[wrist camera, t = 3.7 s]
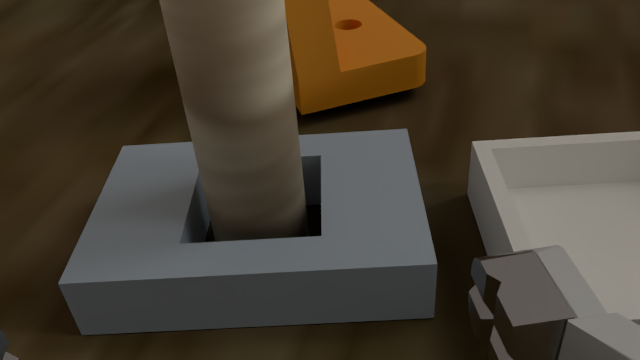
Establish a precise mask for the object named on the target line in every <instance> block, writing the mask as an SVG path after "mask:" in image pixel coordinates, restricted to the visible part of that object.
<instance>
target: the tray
mask: <svg viewBox="0 0 640 360" xmlns="http://www.w3.org/2000/svg"><path fill="white" fill-rule="evenodd" d="M467 194H468V198H469V201H470V204H471V207H472V210H473V213H474V216H475V219H476V222H477V225H478V228H479V231H480V234H481V237H482V241H483V244H484V247H485V250H486V253H487V256H490V255H496V254H502V253H509V252H515V251H522V250H530V249H535V248H542V247H548V246H555V245H559V246H561V247H562V248H564V250H565V251H566V252H567V254H568V255H569V257H570V258H571V260H572V261H573V263H574V264H575V266H576V267H577V269H578V270H579V272H580V273H581V274H582V276H583V277H584V279H585V280H586V282H587V283H588V285H589V286H590V288H591V289H592V291H593V292H594V294H595V295H596V296H597V298H598V299H599V301H600V302H601V304H602V305H603V307H604V308H605V310H606V311H607V313H618V314H620V315H622V316H624V317H626V318H627V319H629V320H631V321H633V322H634V323H636V324H638V325H640V131H636V132H619V133H603V134H586V135H569V136H553V137H536V138H519V139H503V140H486V141H472V147H471V157H470V168H469V179H468V189H467Z"/></svg>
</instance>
